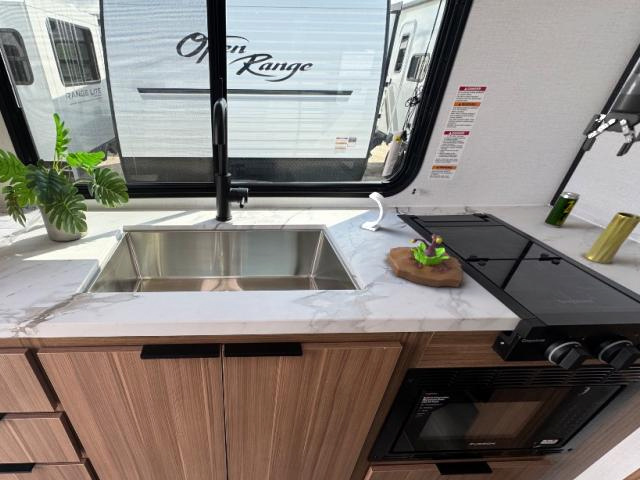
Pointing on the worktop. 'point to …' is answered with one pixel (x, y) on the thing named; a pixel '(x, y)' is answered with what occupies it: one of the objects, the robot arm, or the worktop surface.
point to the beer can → (561, 209)
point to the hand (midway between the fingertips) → (602, 153)
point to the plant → (426, 264)
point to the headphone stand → (383, 211)
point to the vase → (613, 237)
